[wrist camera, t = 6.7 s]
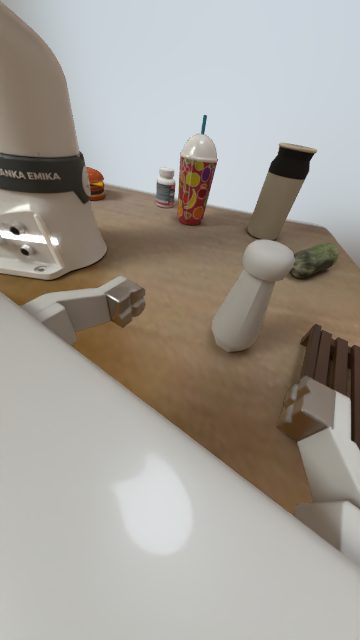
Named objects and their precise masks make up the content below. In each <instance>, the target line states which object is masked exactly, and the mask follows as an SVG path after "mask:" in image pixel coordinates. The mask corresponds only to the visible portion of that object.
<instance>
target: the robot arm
mask: <svg viewBox="0 0 360 640" xmlns="http://www.w3.org/2000/svg"><path fill="white" fill-rule="evenodd" d="M90 195H91V191H90V184H89V178H88V173H87V168H86V166H85V162H84V157H83V154H82V153H81V152H80V151H79V147H78V142H77V137H76V131H75V126H74V120H73V115H72V109H71V104H70V99H69V94H68V88H67V83H66V79H65V76H64V73H63V71H62V68H61V66H60V64H59V62H58V60H57V58H56V57H55V55H54V54H53V52H52V51H51V49H50V48H49V47H48V45H47V44H46V43H45V42H44V41H43V40H42V38H41V37H40V36H39V35H38V34H37V33H36V32H35V31H34V30H33V29H32V28H31V27H29V26H28V25H27V24H26V23H25V22H24V21H23V20H22V19H20V18H19V17H18V16H17V15H16V14H15V13H14V12H12V11H11V10H10V9H9V8H8V7H7V6H5V5H4V4H3V3H2V2H1V1H0V273H3V274H10V275H16V276H23V277H30V278H37V279H44V280H52V279H56V278H58V277H60V276H62V275H64V274H66V273H67V272H69V271H72V270H76V269H79V268H83V267H86V266H88V265H91V264H93V263H95V262H97V261H98V260H100V259H101V258H102V257H103V256H104V255H105V253H106V250H107V247H106V244H105V242H104V240H103V238H102V236H101V233H100V231H99V228H98V225H97V222H96V220H95V216H94V213H93V210H92V206H91V202H90V198H91V196H90ZM144 295H145V289H144V288H142V287H140V286H139V285H137V284H135V283H133V282H132V281H130V280H128V279H126V278H124V277H123V276H119V277H117V278H115V279H113V280H111V281H110V282H108V283H106V284H104V285H103V286H101V287H99V288H97V289H96V288H88V289H80V290H71V291H63V292H55V293H46V294H44V295H42V296H40V297H38V298H36V299H34V300H32V301H30V302H28V303H26V304H24V305H21V306H18V305H17V304H16V303H15V302H13V301H12V300H11V299H9V298H8V297H7V296H5V295H4V294H3V293H1V292H0V640H360V450H359V448H358V446H357V445H356V443H354V442H353V441H351V400H350V398H348V397H347V396H345V395H343V394H341V393H339V392H337V391H335V390H333V389H331V388H329V387H328V386H326V385H324V384H322V383H320V382H318V381H316V380H314V379H312V378H310V377H309V376H307V375H306V376H304V377H302V378H301V379H300V381H299V384H296V385H293V386H292V387H291V388H290V389H289V390H288V392H287V393H286V396H285V398H284V401H283V405H284V408H285V410H283V411H282V412H281V413H280V416H279V420H278V424H277V427H278V428H279V429H280V430H282V431H283V432H285V433H286V434H288V435H289V436H291V437H292V438H294V439H295V440H297V441H298V442H297V443H298V447H299V450H300V454H301V458H302V462H303V465H304V469H305V473H306V476H307V480H308V484H309V487H310V491H311V495H312V499H313V502H314V503H300V504H296V508H295V514H294V516H293V515H292V514H290V513H289V512H288V511H286V510H285V509H284V508H282V507H281V506H280V505H278V504H277V503H276V502H275V501H273V500H272V499H271V498H269V497H268V496H267V495H265V494H264V493H263V492H262V491H260V490H259V489H258V488H256V487H255V486H254V485H252V484H251V483H250V482H248V481H247V480H246V479H245V478H243V477H242V476H241V475H239V474H238V473H237V472H235V471H234V470H233V469H231V468H230V467H229V466H228V465H226V464H225V463H224V462H222V461H221V460H220V459H218V458H217V457H216V456H214V455H213V454H212V453H211V452H209V451H208V450H207V449H205V448H204V447H203V446H201V445H200V444H199V443H197V442H196V441H195V440H194V439H192V438H191V437H190V436H188V435H187V434H186V433H184V432H183V431H182V430H181V429H179V428H178V427H177V426H175V425H174V424H173V423H171V422H170V421H169V420H167V419H166V418H165V417H164V416H162V415H161V414H160V413H158V412H157V411H156V410H154V409H153V408H152V407H150V406H149V405H148V404H147V403H145V402H144V401H143V400H141V399H140V398H139V397H137V396H136V395H135V394H133V393H132V392H131V391H130V390H128V389H127V388H126V387H124V386H123V385H122V384H120V383H119V382H118V381H116V380H115V379H114V378H113V377H111V376H110V375H109V374H107V373H106V372H105V371H103V370H102V369H101V368H99V367H98V366H97V365H96V364H94V363H93V362H92V361H90V360H89V359H88V358H86V357H85V356H84V355H82V354H81V353H80V352H79V351H77V350H76V349H75V348H73V347H72V346H71V345H72V344H74V343H75V342H77V337H76V334H75V332H77V331H81V330H84V329H87V328H91V327H94V326H98V325H101V324H104V323H108V322H111V321H112V322H114V323H116V324H117V325H119V326H121V327H122V328H123V327H125V326H126V325H127V324H128V323H130V322H131V321H132V317H136V316H138V315H140V314H141V313H142V311H143V310H144V308H145V300H144V298H143V296H144Z"/></svg>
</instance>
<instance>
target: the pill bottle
mask: <svg viewBox="0 0 360 640" xmlns="http://www.w3.org/2000/svg"><path fill="white" fill-rule="evenodd" d="M159 173H160V177H158V179H157V194H156V204H157V205H158V206H160V207H164V208H171V207H173V205H174V193H175V180H174V179H173V176H174V169H171V168H167V167H160V170H159Z"/></svg>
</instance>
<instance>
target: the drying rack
mask: <svg viewBox="0 0 360 640" xmlns="http://www.w3.org/2000/svg"><path fill="white" fill-rule="evenodd" d="M301 344H302V345H304V346H306V347H307V349H306V353H305V357H304V361H303V366H302V370H301V374H300V379H301V378H302V377H304V376H306V375H307V376H309V377H310V378H312V379H314V380H316V381H318V382H320V383H322V384H324V385H326V381H327V372H328V364H329V358H330V359H332V360H333V367H332V377H331V389H333V390H335V391H337V392H339V393H341V394H343V395H345V396H346V392H347V367H348V368H350V369H351V396H350V400H351V441H353V442H354V443H356V445H357V446H358V448H359V450H360V347H358V346H356V345H354V346H352V347H349V346H348V341H345V340H343V339H341V338H339V337H338V338H337V339H336V340H334V339H332V334H330V333H328V332H326V331H324V330H322V331H321V326H319V325H317V324H315V325H314V326H313V327H312V328H311V329H310V330H309V331H308V332H307V334H306V335H305V336H304V337H303V338H302V340H301ZM300 379H299V381H300ZM298 384H299V383H298Z"/></svg>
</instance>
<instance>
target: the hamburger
mask: <svg viewBox="0 0 360 640" xmlns="http://www.w3.org/2000/svg"><path fill="white" fill-rule="evenodd" d="M86 168H87V173H88V178H89V184H90V191H91V195H90V196H91V198H90V200H100V199H102V198H104V197H105V192H104V183H103V181H102V180H104V178H103V176H102V174H101V173H100V172H99V171H97V170H95V169H92V168H89V167H86Z"/></svg>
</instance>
